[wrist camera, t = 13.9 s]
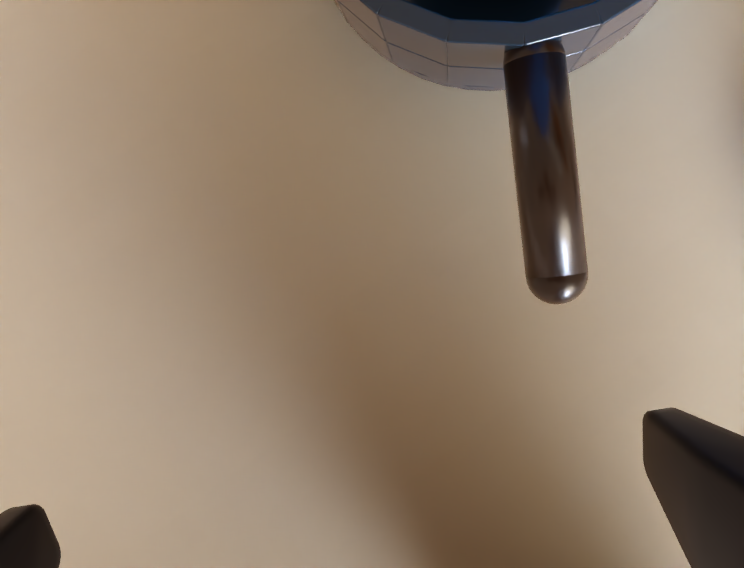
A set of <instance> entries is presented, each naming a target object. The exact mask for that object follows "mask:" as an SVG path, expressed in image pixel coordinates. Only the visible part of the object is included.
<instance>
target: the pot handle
mask: <svg viewBox="0 0 744 568" xmlns="http://www.w3.org/2000/svg"><path fill="white" fill-rule="evenodd" d="M503 72H504V81H505V90H506V99H507V109H508V118H509V127H510V136H511V146H512V155H513V164H514V173H515V183H516V192H517V201H518V210H519V219H520V229H521V238H522V247H523V256H524V266H525V275H526V280H527V284H528V286H529V289H530V290H531V292H532V293H533V294H534V295H535V296H536V297H537V298H538V299H540V300H542V301H544V302H546V303H550V304H564V303H567V302H570V301H572V300H574V299H575V298H577V297H578V296H579V295H580V294H581V293H582V291H583V290H584V288H585V286H586V284H587V280H588V266H587V256H586V246H585V237H584V227H583V217H582V207H581V198H580V188H579V178H578V168H577V159H576V149H575V139H574V129H573V120H572V110H571V100H570V90H569V81H568V71H567V61H566V53H565V49H564V47H563V44H562V43H561V41H558V40H549V41H542V42H537V43H534V44H531V45H528V46H523V47H521V48H516V49H512V50H509V51H507V52H506V53H505V54H504V59H503Z"/></svg>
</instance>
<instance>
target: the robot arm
mask: <svg viewBox="0 0 744 568" xmlns="http://www.w3.org/2000/svg"><path fill="white" fill-rule="evenodd" d="M643 462H644V467H645V471H646V474H647V476H648V478H649V481H650V483H651V485H652V487H653V489H654V491H655V493H656V495H657V497H658V499H659V501H660V504H661V506H662V508H663V510H664V512H665V514H666V516H667V518H668V520H669V522H670V524H671V527H672V529H673V531H674V533H675V535H676V537H677V539H678V541H679V543H680V545H681V547H682V550H683V552H684V554H685V556H686V558H687V560H688V562H689V564H690V566H691V568H744V436H741V435H739V434H737V433H734V432H732V431H729V430H727V429H725V428H722V427H720V426H717V425H715V424H712V423H710V422H708V421H705V420H703V419H700V418H698V417H696V416H693V415H691V414H688V413H686V412H684V411H681V410H679V409H676V408H665V409H659V410H652V411H648V412H646V413H645V414H644V417H643ZM60 558H61V551H60V546H59V543H58V541H57V539H56V536H55V534H54V532H53V529H52V527H51V525H50V522H49V520H48V518H47V515H46V513H45V511H44V509H43V508H42V507H41V506H39V505H36V504H33V505H27V506H20V507H13V508H10V509H8V510H6V511H4V512H3V513H1V514H0V568H59V564H60Z"/></svg>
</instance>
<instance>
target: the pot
mask: <svg viewBox="0 0 744 568" xmlns="http://www.w3.org/2000/svg"><path fill="white" fill-rule="evenodd" d="M657 1H658V0H334V2H335V4H336V5H337V7H338V8H339V10H340V11H341V13H342V14H343V16H344V18H345V19H346V21H347V23H349V25H350V26H351V27H352V28H353V29H354V30H355V31H356V32H357V34H358V35H359V36H360V37H361V38H362V39H363V40H364V41H365V42H366V43H367V44H368V45H369V46H371V47H372V48H373V49H374V50H375V51H376V52H377V53H379V54H380V55H381V56H382V57H384V58H386V59H387V60H389V61H390V62H392V63H393V64H395V65H396V66H398V67H399V68H401V69H403V70H405V71H407V72H409V73H411V74H413V75H415V76H418V77H420V78H422V79H425V80H428V81H431V82H434V83H437V84H441V85H444V86H449V87H455V88H460V89H466V90H484V91H496V90H505V81H504V72H503V59H504V54H505V53H506V52H507V51H509V50H512V49H516V48H521V47H523V46H528V45H531V44H534V43H537V42H542V41H549V40H558V41H561V43H562V44H563V47H564V49H565V53H566V61H567V71H568V73H569V72H571V71H573V70H575V69H577V68H579V67H581V66H583V65H585V64H587V63H589V62H591V61H592V60H594V59H595V58H597V57H598V56H599V55H601V54H602V53H604V52H605V51H607V50H608V49H610V48H611V47H612V46H614V45H615V44H616V43H617V42H618V41H620V40H622V39H623V38H624V37H625V36H627V35H628V34H629V33H630V32H631V30H632V29H633V28H634V27H635V26H636V25H637V24H638V23H639V21H640V20H641V19H642V18H643V17H644V16H645V15H646V13H647V12H648V11H649V10H650V9H651V8H652V7H653V5H654V4H655V3H656V2H657Z"/></svg>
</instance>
